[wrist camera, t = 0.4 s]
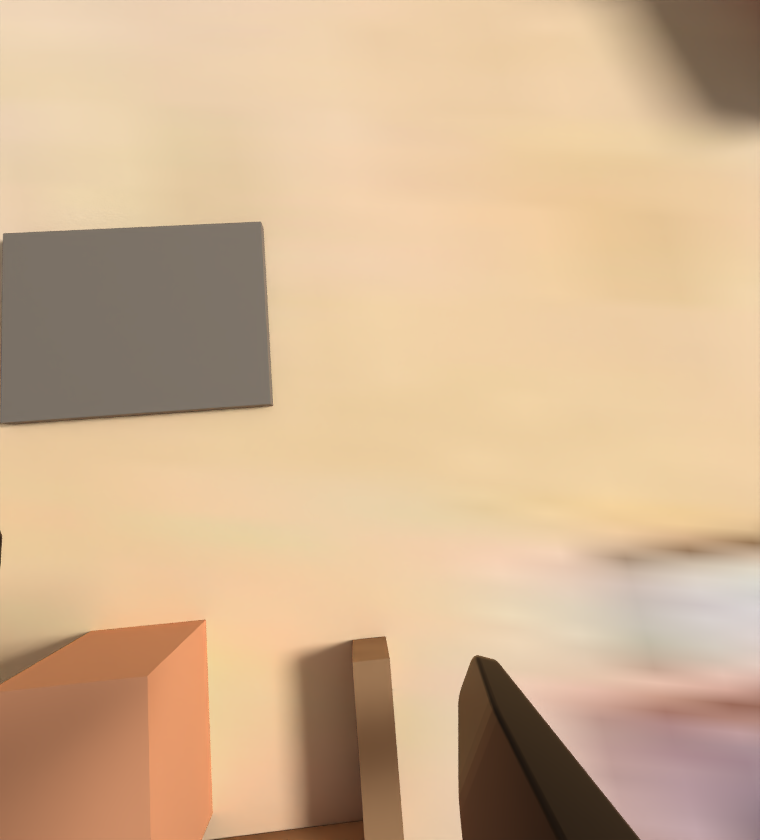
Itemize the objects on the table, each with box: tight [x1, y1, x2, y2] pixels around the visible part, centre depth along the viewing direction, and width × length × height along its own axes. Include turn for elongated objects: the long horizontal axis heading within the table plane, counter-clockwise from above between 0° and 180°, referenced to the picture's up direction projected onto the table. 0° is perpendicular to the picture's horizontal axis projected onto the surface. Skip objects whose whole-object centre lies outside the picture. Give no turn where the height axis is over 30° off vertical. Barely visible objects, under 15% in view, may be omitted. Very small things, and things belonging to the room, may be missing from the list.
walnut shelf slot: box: [216, 637, 404, 840], centre depth 19 cm, size 9×21×2 cm, turn 95°
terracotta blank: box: [0, 620, 213, 840], centre depth 17 cm, size 8×5×6 cm, turn 5°
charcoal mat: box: [0, 222, 273, 424], centre depth 22 cm, size 9×12×1 cm
